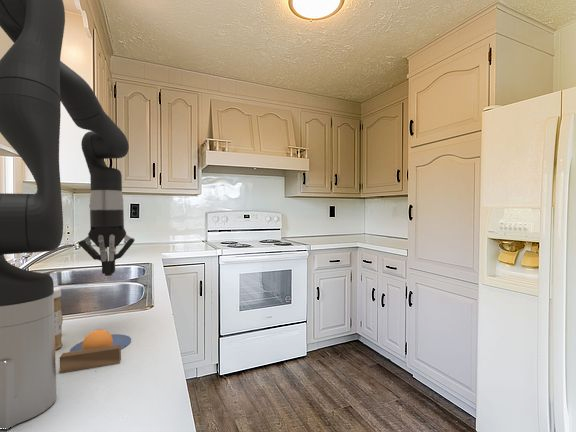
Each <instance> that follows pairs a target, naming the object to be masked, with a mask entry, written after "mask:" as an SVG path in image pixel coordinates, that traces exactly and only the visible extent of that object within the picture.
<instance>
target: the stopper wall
mask: <svg viewBox="0 0 576 432" xmlns="http://www.w3.org/2000/svg"><path fill="white" fill-rule="evenodd" d="M121 361H122V349H121V344H120V345H113V346H106V347H100V348H93V349H86V350H79V351H73V352H70V351H66V352H62V353H61V355H60V356H59V373H60V374H64V373H69V372H74V371H81V370H82V371H83V370H87V369H93V368H98V367H105V366H110V365H111V366H112V365H117V364H120V363H121Z"/></svg>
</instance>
